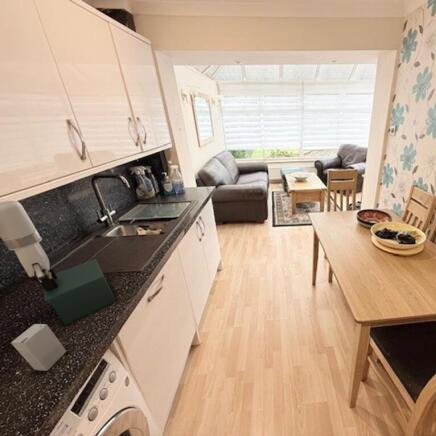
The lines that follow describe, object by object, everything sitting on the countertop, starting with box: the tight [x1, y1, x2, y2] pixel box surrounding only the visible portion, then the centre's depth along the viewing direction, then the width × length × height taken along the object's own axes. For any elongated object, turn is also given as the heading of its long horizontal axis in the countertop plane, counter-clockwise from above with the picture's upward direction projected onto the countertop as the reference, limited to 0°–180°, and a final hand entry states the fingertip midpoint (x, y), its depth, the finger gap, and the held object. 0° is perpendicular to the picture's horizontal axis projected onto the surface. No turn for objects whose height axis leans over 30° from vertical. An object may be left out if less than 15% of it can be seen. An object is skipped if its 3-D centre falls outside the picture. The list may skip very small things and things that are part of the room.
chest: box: [48, 261, 116, 326], centre depth 89 cm, size 15×17×11 cm
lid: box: [43, 258, 104, 303], centre depth 85 cm, size 16×17×5 cm
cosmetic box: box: [10, 323, 67, 372], centre depth 67 cm, size 6×4×12 cm
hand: (52, 284), depth 82 cm, fingers closed on lid, 6 cm apart
